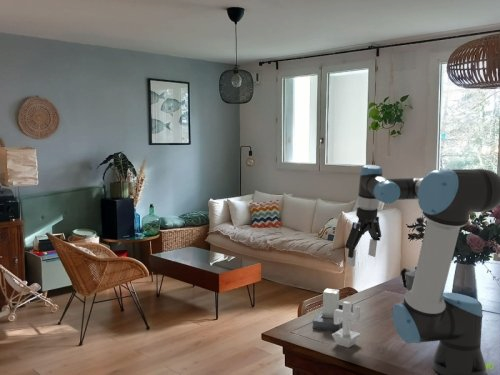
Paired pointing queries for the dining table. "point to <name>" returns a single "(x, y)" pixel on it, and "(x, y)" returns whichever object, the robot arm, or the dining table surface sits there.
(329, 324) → the dark grey flat block
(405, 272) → the coffeepot
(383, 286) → the dining table surface
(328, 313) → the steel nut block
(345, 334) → the figurine
